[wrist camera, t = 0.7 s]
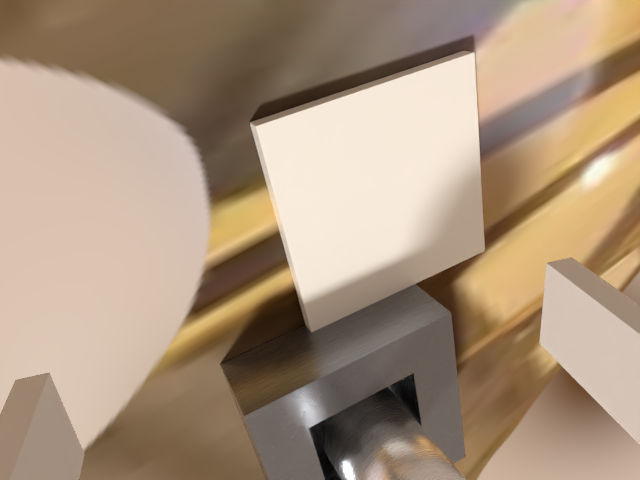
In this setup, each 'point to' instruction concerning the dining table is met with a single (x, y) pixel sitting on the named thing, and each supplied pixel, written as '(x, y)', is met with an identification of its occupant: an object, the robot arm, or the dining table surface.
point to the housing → (348, 381)
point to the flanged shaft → (382, 443)
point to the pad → (376, 185)
